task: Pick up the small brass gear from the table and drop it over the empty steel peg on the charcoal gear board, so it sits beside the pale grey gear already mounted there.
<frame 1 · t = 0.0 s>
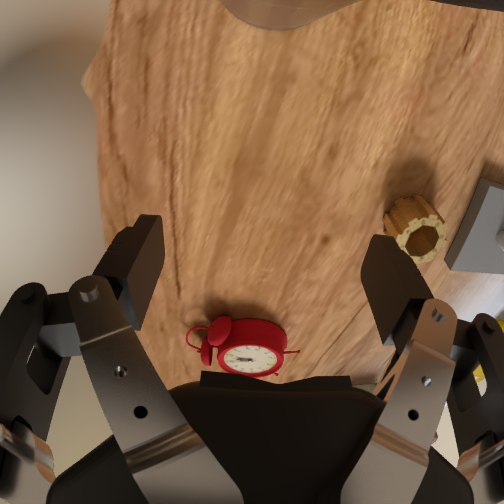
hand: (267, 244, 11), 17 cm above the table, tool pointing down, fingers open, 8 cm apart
alarm clock: (240, 335, 44), on the table
element tile: (484, 345, 49), on the table
brass gear: (408, 219, 30), on the table
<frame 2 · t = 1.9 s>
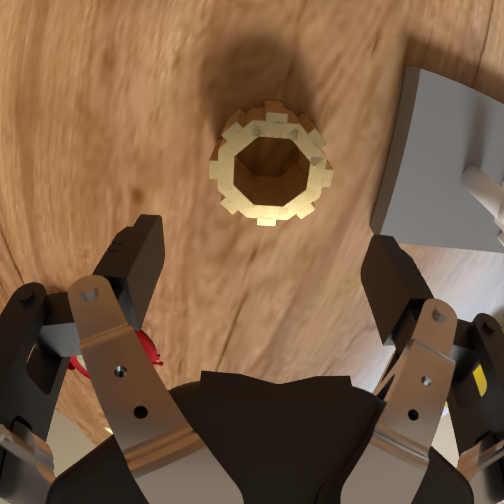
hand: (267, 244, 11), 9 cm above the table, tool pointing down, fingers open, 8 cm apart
alarm clock: (102, 336, 32), on the table
gear board: (503, 180, 18), on the table
element tile: (472, 358, 36), on the table
brass gear: (268, 148, 18), on the table
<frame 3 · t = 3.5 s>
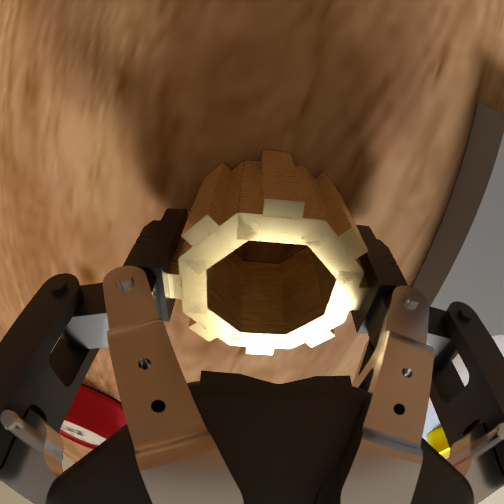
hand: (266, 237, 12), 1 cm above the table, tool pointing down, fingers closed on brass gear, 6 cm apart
alarm clock: (76, 395, 25), on the table
element tile: (481, 409, 30), on the table
brass gear: (267, 225, 12), on the table, touching gripper
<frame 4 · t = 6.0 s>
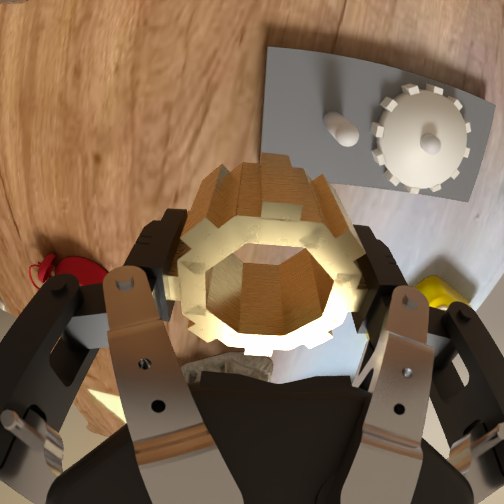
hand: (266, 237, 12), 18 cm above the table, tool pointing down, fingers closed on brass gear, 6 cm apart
alarm clock: (77, 279, 39), on the table
gear board: (386, 125, 26), on the table
ceramic cottage: (225, 371, 52), on the table
element tile: (419, 316, 44), on the table
brass gear: (265, 227, 13), point 17 cm above the table, touching gripper
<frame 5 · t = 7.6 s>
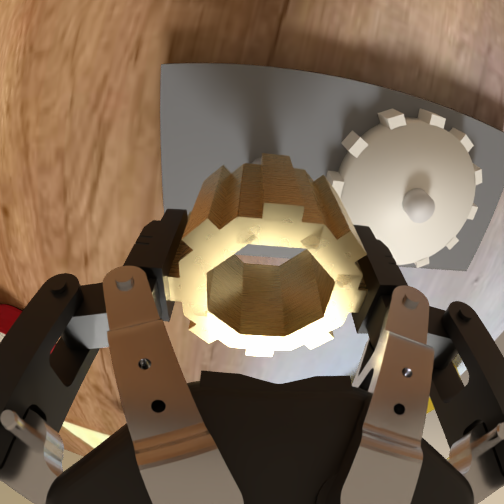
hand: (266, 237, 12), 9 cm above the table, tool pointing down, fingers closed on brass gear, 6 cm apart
alarm clock: (17, 324, 31), on the table
gear board: (354, 171, 19), on the table
brass gear: (266, 228, 13), point 8 cm above the table, touching gripper
when the fingers open (5 cm above the table, at t = 8.8 s): brass gear drops 2 cm, resting on gear board.
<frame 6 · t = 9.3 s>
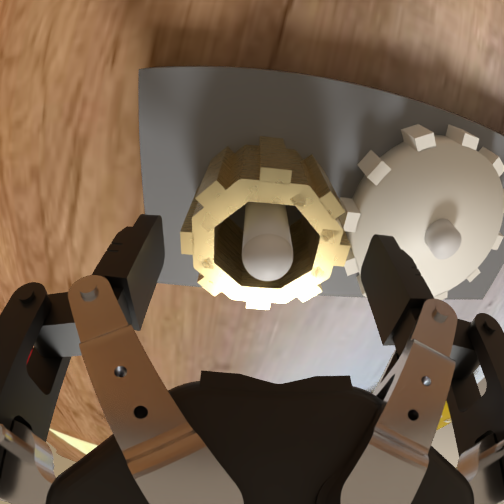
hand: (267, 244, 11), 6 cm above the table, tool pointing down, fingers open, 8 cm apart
gear board: (369, 194, 16), on the table
brass gear: (264, 200, 15), point 2 cm above the table, touching gear board
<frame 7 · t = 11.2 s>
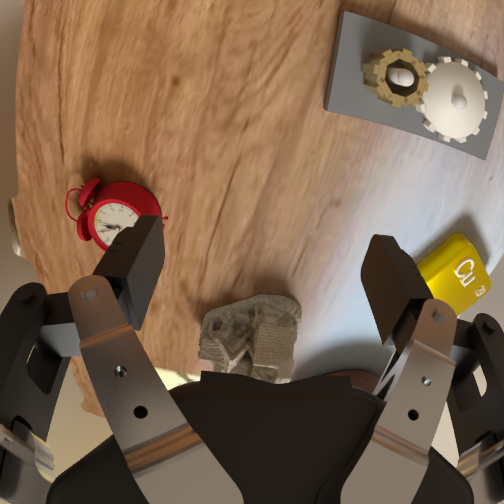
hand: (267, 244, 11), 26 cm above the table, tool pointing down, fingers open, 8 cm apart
wooden bowl: (337, 389, 67), on the table
alarm clock: (118, 210, 40), on the table
gear board: (423, 88, 28), on the table
ceramic cottage: (250, 321, 52), on the table
element tile: (441, 277, 46), on the table
brass gear: (387, 75, 27), point 2 cm above the table, touching gear board
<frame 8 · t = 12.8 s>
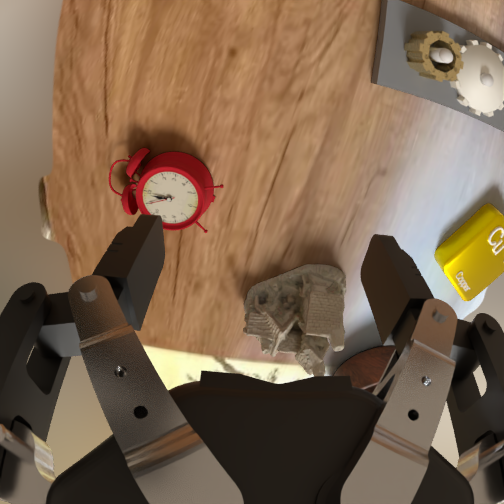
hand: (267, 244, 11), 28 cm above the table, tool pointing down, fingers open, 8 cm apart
wooden bowl: (373, 367, 67), on the table
alarm clock: (165, 182, 40), on the table
gear board: (454, 67, 28), on the table
ceramic cottage: (295, 294, 52), on the table
element tile: (473, 247, 46), on the table
brass gear: (426, 54, 26), point 2 cm above the table, touching gear board
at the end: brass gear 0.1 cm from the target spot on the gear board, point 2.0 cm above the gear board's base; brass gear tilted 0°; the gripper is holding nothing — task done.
